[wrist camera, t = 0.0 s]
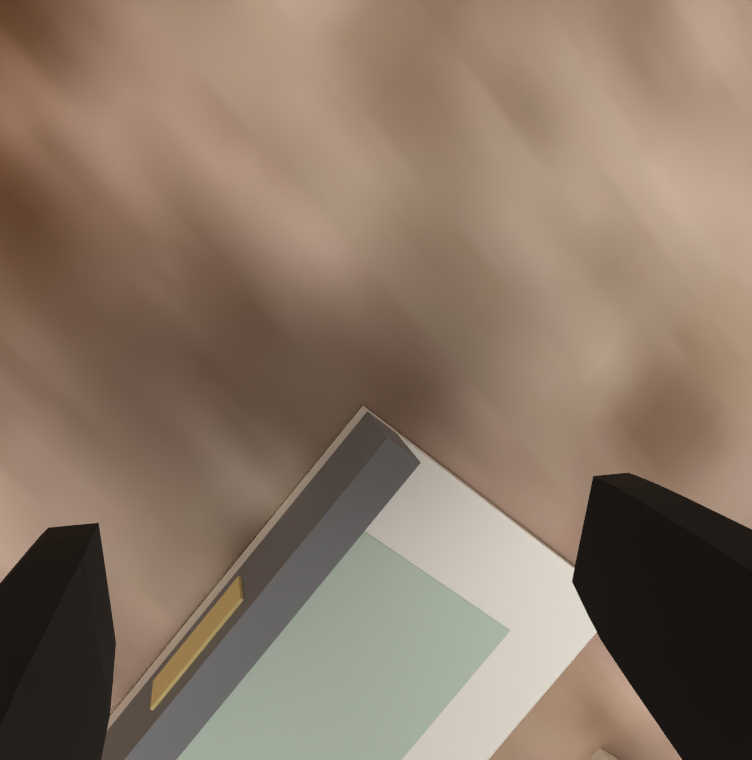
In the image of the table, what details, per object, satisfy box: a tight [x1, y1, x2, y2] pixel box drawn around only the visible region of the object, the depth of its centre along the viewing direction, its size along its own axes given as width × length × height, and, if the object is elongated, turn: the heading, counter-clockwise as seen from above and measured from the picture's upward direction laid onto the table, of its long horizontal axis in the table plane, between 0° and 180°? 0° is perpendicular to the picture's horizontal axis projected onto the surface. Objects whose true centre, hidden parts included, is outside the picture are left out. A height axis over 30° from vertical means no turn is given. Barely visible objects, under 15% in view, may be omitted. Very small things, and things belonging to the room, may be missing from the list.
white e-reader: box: [101, 406, 597, 760], centre depth 22 cm, size 16×12×3 cm
